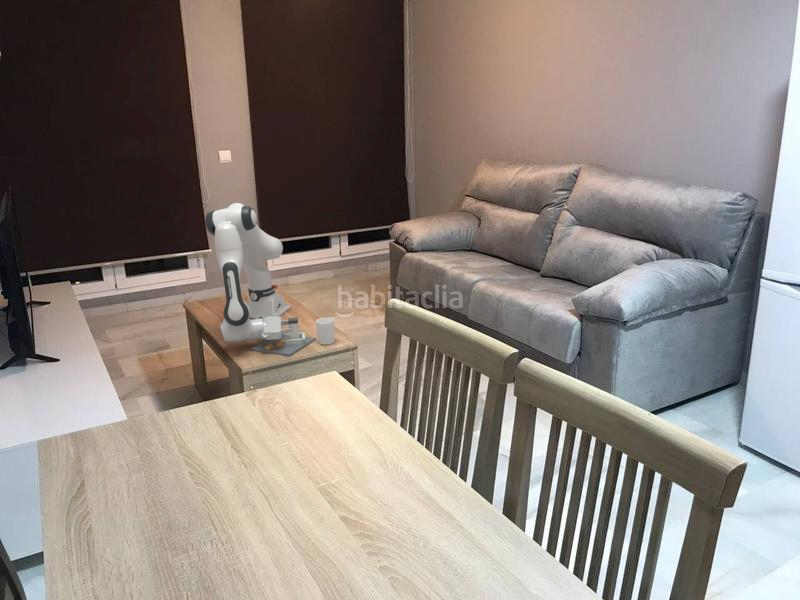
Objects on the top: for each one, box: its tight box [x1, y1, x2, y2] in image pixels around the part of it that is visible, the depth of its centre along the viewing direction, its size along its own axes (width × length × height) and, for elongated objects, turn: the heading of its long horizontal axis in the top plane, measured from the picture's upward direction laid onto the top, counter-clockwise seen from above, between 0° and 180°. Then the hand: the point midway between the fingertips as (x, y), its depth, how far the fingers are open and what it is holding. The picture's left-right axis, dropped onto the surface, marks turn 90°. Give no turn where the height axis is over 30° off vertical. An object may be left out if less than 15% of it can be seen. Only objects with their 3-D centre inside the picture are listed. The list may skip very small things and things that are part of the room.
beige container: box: [287, 316, 300, 340], centre depth 283 cm, size 4×4×10 cm
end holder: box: [287, 331, 306, 345], centre depth 284 cm, size 8×9×2 cm
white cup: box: [315, 317, 335, 345], centre depth 282 cm, size 8×8×10 cm
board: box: [250, 333, 317, 357], centre depth 282 cm, size 20×20×2 cm
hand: (292, 326), depth 282 cm, fingers open, 8 cm apart
